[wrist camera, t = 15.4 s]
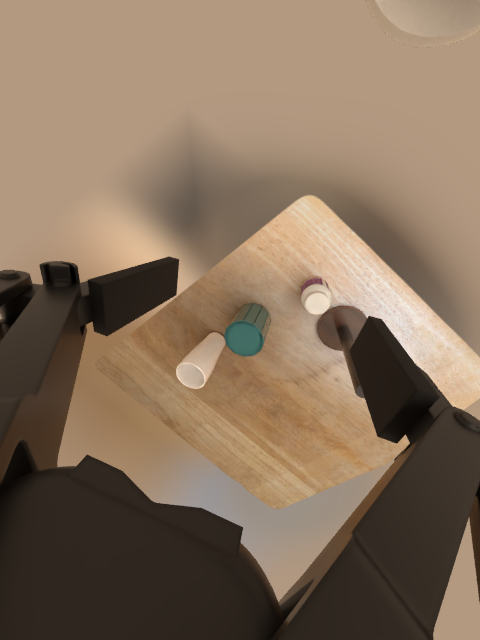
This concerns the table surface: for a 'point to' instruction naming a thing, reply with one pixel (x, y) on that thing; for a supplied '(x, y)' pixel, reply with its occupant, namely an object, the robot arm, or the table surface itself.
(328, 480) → the table surface
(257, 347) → the teal fluted cylinder
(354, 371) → the towel holder
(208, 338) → the drinking glass
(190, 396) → the table surface
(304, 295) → the pill bottle
